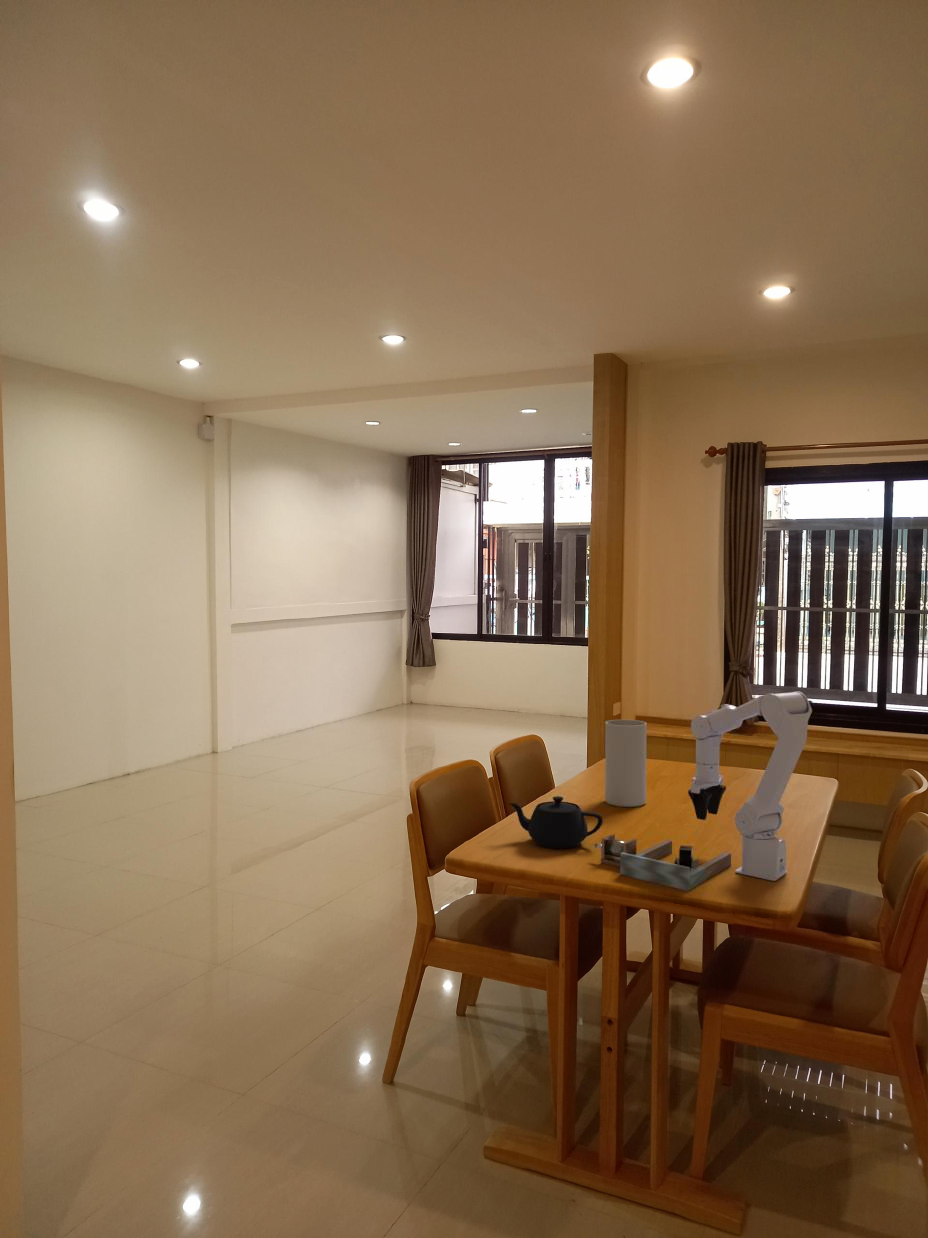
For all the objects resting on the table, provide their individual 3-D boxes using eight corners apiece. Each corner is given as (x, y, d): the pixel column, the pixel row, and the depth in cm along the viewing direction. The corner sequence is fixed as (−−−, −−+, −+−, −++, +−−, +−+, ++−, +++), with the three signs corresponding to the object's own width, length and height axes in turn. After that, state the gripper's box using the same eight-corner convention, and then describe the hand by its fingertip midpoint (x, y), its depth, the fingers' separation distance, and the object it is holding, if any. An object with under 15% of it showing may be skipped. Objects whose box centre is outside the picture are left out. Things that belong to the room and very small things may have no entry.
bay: (731, 865, 209) (731, 844, 209) (688, 891, 191) (688, 868, 191) (666, 851, 220) (666, 832, 220) (620, 874, 202) (620, 853, 202)
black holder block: (673, 858, 217) (673, 839, 217) (703, 861, 214) (703, 842, 214) (668, 873, 205) (668, 853, 205) (700, 876, 203) (700, 856, 203)
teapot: (606, 838, 231) (606, 793, 231) (598, 856, 216) (598, 807, 216) (515, 831, 238) (514, 787, 238) (501, 847, 224) (501, 800, 223)
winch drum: (636, 863, 210) (636, 839, 210) (626, 868, 206) (626, 844, 206) (603, 856, 216) (603, 832, 216) (592, 861, 212) (592, 836, 212)
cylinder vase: (638, 809, 261) (638, 727, 260) (599, 804, 267) (599, 724, 266) (651, 800, 272) (651, 721, 271) (613, 796, 278) (613, 718, 277)
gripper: (705, 756, 225) (704, 808, 226) (679, 765, 214) (679, 819, 215) (731, 759, 221) (730, 812, 221) (706, 769, 210) (705, 824, 210)
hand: (707, 816), depth 218 cm, fingers open, 6 cm apart
